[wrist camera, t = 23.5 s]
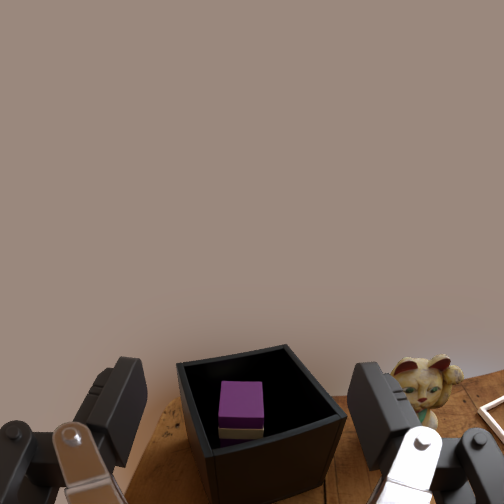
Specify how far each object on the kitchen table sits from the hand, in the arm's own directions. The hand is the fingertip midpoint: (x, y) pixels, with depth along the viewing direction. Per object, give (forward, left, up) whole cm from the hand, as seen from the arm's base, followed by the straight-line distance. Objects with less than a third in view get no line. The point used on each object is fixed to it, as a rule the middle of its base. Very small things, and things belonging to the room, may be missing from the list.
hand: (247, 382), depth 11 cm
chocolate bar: (+4, +12, -24) cm, 28 cm away
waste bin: (+5, +12, -25) cm, 28 cm away
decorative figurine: (+23, +8, -25) cm, 35 cm away
